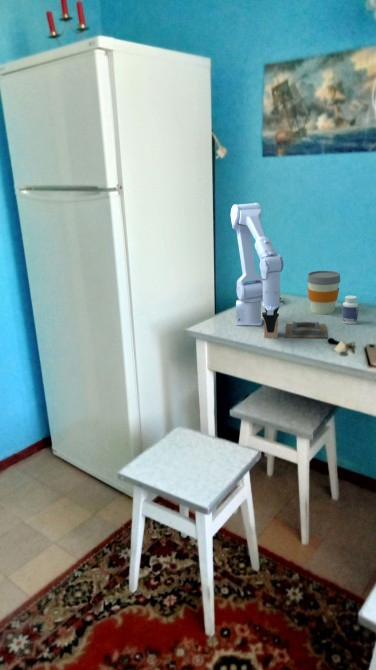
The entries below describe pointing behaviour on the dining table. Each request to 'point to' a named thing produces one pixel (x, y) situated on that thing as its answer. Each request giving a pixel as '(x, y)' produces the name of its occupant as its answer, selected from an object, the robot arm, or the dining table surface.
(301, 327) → the socket board
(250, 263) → the robot arm
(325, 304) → the reusable coffee cup
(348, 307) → the pill bottle
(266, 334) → the beige upright block
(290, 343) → the dining table surface
